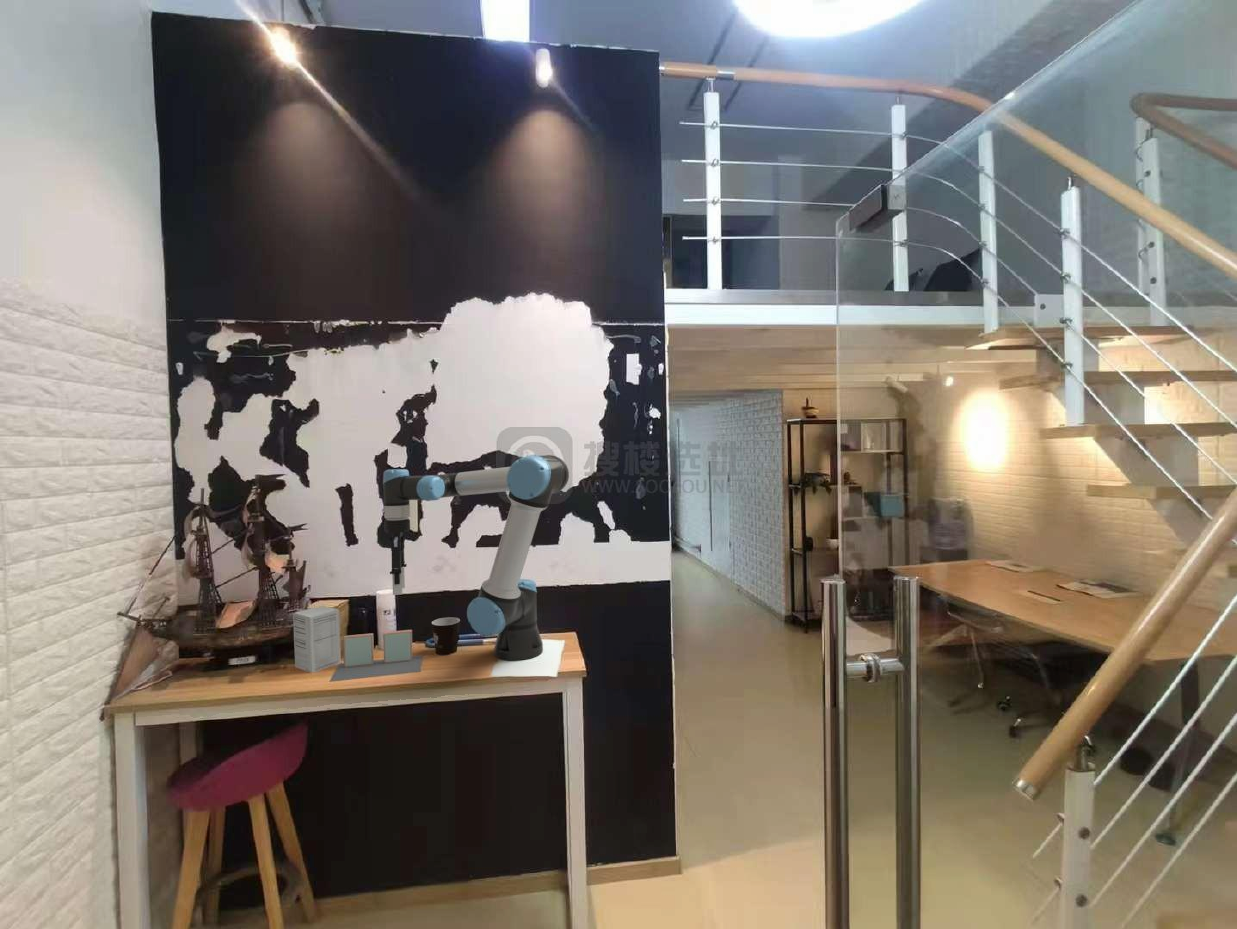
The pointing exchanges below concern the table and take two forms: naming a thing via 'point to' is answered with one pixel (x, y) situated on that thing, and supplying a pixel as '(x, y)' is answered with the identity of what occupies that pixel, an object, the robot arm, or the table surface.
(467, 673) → the table surface
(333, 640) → the supplement box
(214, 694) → the table surface
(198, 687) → the table surface
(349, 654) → the tile
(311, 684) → the table surface
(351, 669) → the mat
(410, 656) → the tile
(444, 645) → the coffee mug
